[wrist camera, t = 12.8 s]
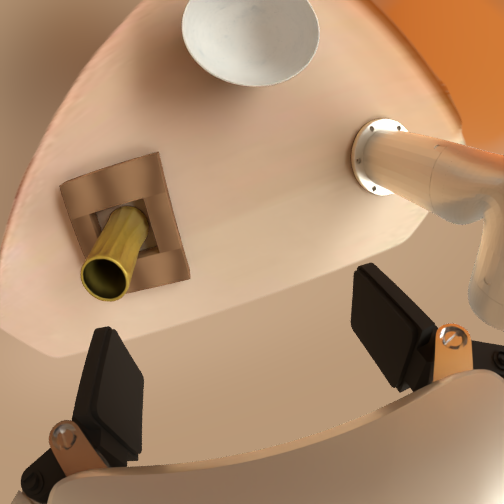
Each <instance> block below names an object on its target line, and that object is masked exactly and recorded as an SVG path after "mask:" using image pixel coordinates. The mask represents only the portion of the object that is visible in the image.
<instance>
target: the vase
mask: <svg viewBox="0 0 504 504" xmlns="http://www.w3.org/2000/svg"><path fill="white" fill-rule="evenodd" d="M148 232H149V224H148V221H147V218H146V217H145V215H144V214H143V213H142V212H141V211H140V210H139V209H137V208H135V207H131V206H123V207H120V208H118V209H116V210H115V211H114V212H113V213H112V214H111V215H110V217H109V220H108V222H107V224H106V226H105V227H104V229H103V231H102V232H101V234H100V236H99V238H98V239H97V241H96V243H95V245H94V247H93V248H92V250H91V252H90V254H89V255H88V257H87V259H86V260H85V262H84V264H83V266H82V269H81V281H82V284H83V286H84V287H85V289H86V290H87V291H88V292H89V293H90V294H91V295H92V296H93V297H95V298H97V299H99V300H102V301H116V300H118V299H120V298H122V297H123V296H124V294H125V293H126V292H127V290H128V288H129V286H130V282H131V278H132V274H133V271H134V267H135V264H136V261H137V257H138V253H139V250H140V248H141V246H142V244H143V242H144V240H145V239H146V237H147V235H148Z"/></svg>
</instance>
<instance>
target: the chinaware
mask: <svg viewBox="0 0 504 504" xmlns="http://www.w3.org/2000/svg"><path fill="white" fill-rule="evenodd" d="M181 28H182V36H183V40H184V43H185V46H186V48H187V50H188V52H189V53H190V55H191V56H192V58H193V59H194V60H195V61H196V62H197V64H198V65H199V66H201V67H202V68H203V69H204V70H205V71H207V72H208V73H210V74H211V75H213V76H215V77H216V78H218V79H221V80H223V81H225V82H228V83H232V84H235V85H240V86H248V87H262V86H270V85H275V84H278V83H281V82H284V81H286V80H289V79H290V78H292V77H294V76H296V75H297V74H298V73H300V72H301V71H302V70H303V69H304V68H305V67H306V66H307V65H308V64H309V63H310V61H311V60H312V58H313V57H314V55H315V53H316V50H317V47H318V44H319V37H320V31H319V23H318V19H317V16H316V14H315V11H314V9H313V8H312V6H311V4H310V3H309V1H308V0H189V2H188V3H187V5H186V7H185V10H184V13H183V17H182V25H181Z"/></svg>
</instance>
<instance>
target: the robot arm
mask: <svg viewBox="0 0 504 504" xmlns="http://www.w3.org/2000/svg"><path fill="white" fill-rule="evenodd" d="M356 160H357V161H356ZM351 163H352V168H353V172H354V175H355V177H356V179H357V180H358V182H359V183H360V185H361V186H362V187H363V188H365V189H366V190H367V191H369V192H371V193H373V194H376V195H383V196H385V195H390V194H392V193H395V194H397V195H399V196H401V197H403V198H405V199H407V200H409V201H411V202H413V203H415V204H417V205H419V206H421V207H422V208H424V209H426V210H428V211H430V212H432V213H434V214H435V215H437V216H439V217H441V218H443V219H445V220H446V221H448V222H451V223H453V224H459V225H464V224H470V223H473V222H476V221H478V220H480V219H482V218H484V226H483V232H482V239H481V243H480V247H479V251H478V254H477V258H476V262H475V265H474V268H473V272H472V276H471V280H470V283H469V289H468V300H469V304H470V306H471V309H472V310H473V312H474V313H475V314H476V315H477V317H478V318H479V319H481V320H482V321H483V322H485V323H486V324H488V325H490V326H492V327H494V328H496V329H498V330H501V331H503V332H504V155H501V154H496V153H492V152H487V151H484V150H480V149H476V148H472V147H469V146H465V145H462V144H458V143H454V142H450V141H446V140H442V139H438V138H434V137H429V136H425V135H420V134H416V133H411V132H408V131H407V130H406V128H405V127H403V126H402V125H401V124H400V123H398V122H397V121H394V120H392V119H386V118H379V119H375V120H372V121H370V122H368V123H367V124H366V125H365V126H363V127H362V129H361V130H360V131H359V132H358V134H357V136H356V138H355V140H354V143H353V147H352V153H351ZM351 327H352V329H353V331H354V332H355V333H356V335H357V337H358V338H359V339H360V341H361V342H362V344H363V345H364V346H365V348H366V349H367V351H368V352H369V354H370V355H371V357H372V358H373V360H374V361H375V363H376V364H377V366H378V367H379V368H380V370H381V372H382V373H383V374H384V375H385V377H386V379H387V380H388V382H389V383H390V385H391V386H392V387H393V388H395V387H396V388H397V389H398V391H399V392H402V391H404V390H406V389H408V388H411V389H412V391H413V393H411V394H409V395H407V396H405V397H403V398H401V399H399V400H397V401H394V402H393V403H390V404H388V405H386V406H384V407H382V408H379V409H377V410H375V411H373V412H371V413H368V414H366V415H363V416H361V417H359V418H356V419H354V420H351V421H349V422H346V423H344V424H341V425H338V426H336V427H333V428H330V429H328V430H325V431H322V432H319V433H316V434H313V435H310V436H307V437H303V438H300V439H297V440H294V441H290V442H287V443H283V444H279V445H276V446H272V447H268V448H264V449H260V450H256V451H251V452H247V453H242V454H237V455H232V456H226V457H221V458H215V459H209V460H202V461H195V462H187V463H177V464H166V465H155V466H139V467H127V461H138V454H140V453H141V451H142V409H143V389H144V388H143V387H144V379H143V375H142V373H141V371H140V370H139V368H138V367H137V365H136V364H135V362H134V360H133V359H132V357H131V355H130V354H129V352H128V350H127V349H126V347H125V345H124V344H123V342H122V340H121V338H120V337H119V335H118V333H117V331H116V330H115V329H111V327H109V326H107V327H102V328H97V329H95V331H94V334H93V337H92V340H91V344H90V347H89V350H88V354H87V358H86V361H85V365H84V369H83V372H82V377H81V380H80V384H79V389H78V393H77V397H76V402H75V407H74V411H73V416H72V421H71V420H64V421H61V422H59V423H57V424H56V425H55V426H54V427H53V428H52V430H51V431H50V435H49V444H50V447H51V448H50V449H49V450H48V451H46V452H45V453H44V454H43V455H42V456H41V457H39V458H38V459H37V460H36V461H35V462H34V463H33V464H31V465H30V467H28V468H27V469H26V470H25V471H24V472H23V474H22V477H21V487H22V490H23V491H22V492H21V491H18V492H17V494H16V496H15V498H14V499H13V501H12V503H11V504H504V346H502V345H496V344H489V343H483V342H478V341H472V340H471V337H470V334H469V332H468V331H467V330H466V329H465V328H464V327H462V326H460V325H458V324H454V323H453V324H451V323H450V324H449V323H448V324H444V325H442V326H441V327H439V328H437V326H435V323H434V322H433V321H432V320H431V319H430V318H429V317H428V316H427V315H426V314H425V313H424V312H423V311H422V310H421V309H420V308H419V307H418V306H417V305H416V304H415V303H414V302H413V301H412V300H411V299H410V298H409V297H408V296H407V295H406V294H405V293H404V292H403V291H402V290H401V289H400V288H399V287H398V286H397V285H396V284H395V283H394V282H393V281H391V280H390V279H389V278H388V277H387V276H386V275H385V274H384V273H383V272H382V271H381V270H380V269H379V268H378V267H377V266H376V265H374V264H373V263H368V264H364V265H361V266H359V267H358V268H357V271H355V272H354V281H353V298H352V312H351Z"/></svg>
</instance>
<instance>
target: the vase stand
mask: <svg viewBox="0 0 504 504" xmlns="http://www.w3.org/2000/svg"><path fill="white" fill-rule="evenodd" d="M60 190H61V193H62V196H63V199H64V202H65V205H66V208H67V211H68V214H69V217H70V220H71V223H72V225H73V228H74V231H75V233H76V236H77V239H78V241H79V244H80V246H81V249H82V251H83V254H84V256H85V259H87V257H88V255H89V254H90V252H91V250H92V248H93V247H94V245H95V243H96V241H97V239H98V238H99V236H100V234H101V232H102V230H101V227H100V225H99V222H98V219H97V216H96V213H95V212H97V211H101V210H104V209H107V208H111V207H114V206H117V205H121V204H124V203H128V202H131V201H135V200H138V199H142V198H143V199H144V202H145V206H146V209H147V213H148V216H149V220H150V223H151V226H152V229H153V233H154V236H155V239H156V242H157V245H158V246H157V247H153V248H149V249H145V250H141V251H139V253H138V257H137V261H136V264H135V267H134V271H133V274H132V278H131V282H130V286H129V288H128V290H127V292H126V293H125V294H127V293H131V292H136V291H140V290H144V289H149V288H153V287H158V286H162V285H166V284H171V283H175V282H179V281H184V280H188V279H190V269H189V266H188V262H187V259H186V256H185V252H184V249H183V245H182V242H181V238H180V234H179V231H178V227H177V224H176V220H175V216H174V212H173V208H172V205H171V201H170V197H169V193H168V189H167V185H166V181H165V177H164V172H163V168H162V164H161V160H160V155H159V152H156V153H152V154H149V155H145V156H141V157H138V158H134V159H131V160H128V161H124V162H121V163H118V164H115V165H112V166H109V167H105V168H102V169H99V170H97V171H94V172H91V173H88V174H85V175H82V176H79V177H77V178H74V179H71V180H69V181H66V182H65V183H63V184H61V185H60Z"/></svg>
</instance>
